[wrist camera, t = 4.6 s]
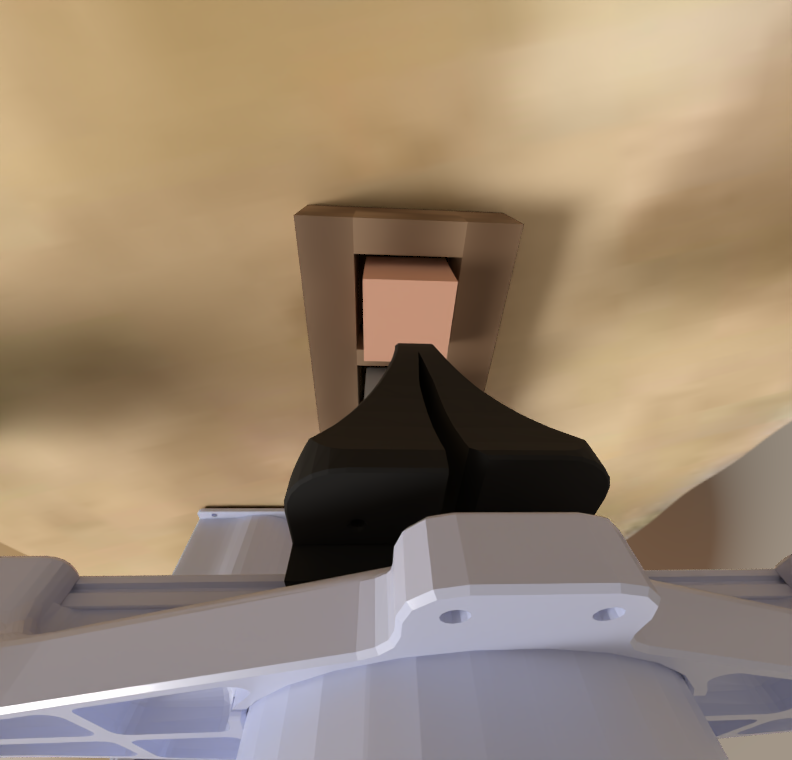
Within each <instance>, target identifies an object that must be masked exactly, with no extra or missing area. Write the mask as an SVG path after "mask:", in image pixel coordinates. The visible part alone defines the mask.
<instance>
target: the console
mask: <svg viewBox="0 0 792 760" xmlns="http://www.w3.org/2000/svg"><path fill="white" fill-rule="evenodd" d="M294 221H295V230H296V238H297V246H298V255H299V263H300V271H301V280H302V288H303V296H304V305H305V313H306V321H307V330H308V338H309V346H310V355H311V363H312V371H313V380H314V388H315V396H316V405H317V413H318V421H319V429H320V433H321V432H323V431H325V430H326V429H328V428H330V427H332V426H333V425H335V424H336V423H338V422H339V421H340V420H342V419H343V418H344V417H346V416H347V415H348V414H349V413H351V412H352V411H353V410H354V409H355V408H356V407H357V406H358V405H359V404H360V403H361V402H362V401H363V400H362V389H361V365H364V366H388V365H389V363H390V362H386V361H364V333H363V324H360V297H359V254H377V255H406V256H434V257H449V262H448V265H449V267H450V268H451V270H452V272H453V274H454V276H455V278H456V279H457V281H458V285H457V291H456V298H455V305H454V312H453V318H452V325H451V332H450V339H449V345H448V352H447V360H448V361H449V362H450V363H451V364H452V365H453V366H454V367H455V368H456V369H457V370H458V371H459V372H460V373H461V374H462V375H463V376H464V377H465V378H467V379H468V380H469V381H470V382H471V383H473V384H474V385H475V386H476V387H478V388H479V389H480V390H482V391H483V392H484V390H485V386H486V382H487V377H488V373H489V369H490V365H491V360H492V356H493V352H494V348H495V344H496V339H497V335H498V331H499V327H500V323H501V318H502V314H503V310H504V306H505V302H506V297H507V293H508V289H509V285H510V281H511V276H512V272H513V268H514V264H515V259H516V255H517V251H518V247H519V243H520V238H521V234H522V230H523V226H524V224H522V223H520V222H519V221H517V220H515V219H513V218H511V217H509V216H507V215H506V214H504V213H493V212H469V211H445V210H421V209H397V208H373V207H349V206H325V205H307V206H305V207H304V208H303V209H301V210H300V211H299V212H297V213H296V214H295V215H294Z"/></svg>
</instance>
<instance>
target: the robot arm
mask: <svg viewBox="0 0 792 760" xmlns="http://www.w3.org/2000/svg"><path fill="white" fill-rule="evenodd" d="M609 488H610V477H609V475H608V473H607V471H606V469H605V468H604V466H603V465H602V463H601V462H600V460H599V459H598V457H597V456H596V454H595V453H594V452H593V450H592V449H591V447H590V446H589V445H588V443H587V442H586V441H585V440H583V439H580V438H577V437H575V436H572V435H569V434H566V433H563V432H561V431H558V430H555V429H552V428H550V427H547V426H545V425H543V424H541V423H538V422H536V421H534V420H532V419H529V418H527V417H525V416H523V415H521V414H519V413H517V412H515V411H514V410H512V409H510V408H508V407H507V406H505V405H503V404H501V403H500V402H498V401H496V400H495V399H493V398H492V397H490V396H489V395H487V394H486V393H485V392H483V391H482V390H480V389H479V388H478V387H476V386H475V385H474V384H473V383H471V382H470V381H469V380H468V379H467V378H465V377H464V376H463V375H462V374H461V373H460V372H459V371H458V370H457V369H456V368H455V367H454V366H453V365H452V364H451V363H450V362H449V361H448V360H447V359H446V358H445V357H444V356H443V355H442V354H441V353H440V352H439V351H438V349H437V348H436V347H435V346H434V345H433V344H417V343H398V344H397V345H395V351H394V354H393V357H392V359H391V362H390V363H389V365H388V367H387V369H386V371H385V373H384V374H383V376H382V377H381V379H380V381H379V382H378V384H377V385H376V386H375V388H374V389H373V390H372V391H371V393H370V394H369V395H368V396H367V397H366V398H365V399H364V400H363V401H362V402H361V403H360V404H359V405H358V406H357V407H356V408H355V409H354V410H353V411H352V412H351V413H349V414H348V415H347V416H346V417H344V418H343V419H342V420H340V421H339V422H338V423H336V424H335V425H333V426H332V427H330V428H328V429H326V430H325V431H323V432H321V433H319V434H318V435H316V436H314V437H312V438H310V439H309V440H308V442H307V444H306V445H305V447H304V449H303V451H302V453H301V455H300V457H299V459H298V461H297V463H296V465H295V468H294V470H293V472H292V475H291V478H290V481H289V485H288V488H287V492H286V496H285V499H284V508H203V509H200V510H199V512H198V516H199V518H200V519H199V521H198V523H197V525H196V527H195V529H194V531H193V533H192V535H191V537H190V539H189V541H188V544H187V546H186V548H185V550H184V552H183V554H182V556H181V558H180V560H179V562H178V564H177V566H176V568H175V570H174V572H173V574H172V575H157V576H79V574H78V572H77V571H76V569H75V568H74V567H73V566H72V565H71V564H70V563H68V562H67V561H65V560H63V559H60V558H57V557H50V556H0V758H1V757H2V758H3V757H81V758H82V757H84V758H86V757H87V758H110V760H729V759H728V757H727V755H726V753H725V752H724V750H723V748H722V746H721V745H720V743H719V741H718V739H719V738H729V737H739V736H750V735H760V734H771V733H782V732H792V554H791V555H789V556H787V557H785V558H784V559H783V560H782V561H780V562H779V563H778V564H777V565H776V567H775V569H723V570H722V569H718V570H717V569H716V570H715V569H711V570H643V568H642V566H641V564H640V563H639V561H638V560H637V558H636V556H635V555H634V553H633V552H632V550H631V548H630V547H629V545H628V544H627V542H626V540H625V539H624V537H623V535H622V534H621V532H620V530H619V529H618V528H617V527H616V526H615V525H614V524H613V523H612V522H611V521H610V520H609V519H608V518H604V517H601V516H596V515H595V513H596V512H597V510H598V508H599V507H600V505H601V504H602V502H603V501H604V499H605V497H606V495H607V492H608V490H609Z"/></svg>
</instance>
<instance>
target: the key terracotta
mask: <svg viewBox="0 0 792 760" xmlns="http://www.w3.org/2000/svg"><path fill="white" fill-rule="evenodd" d="M457 285H458V281H457V279H456V278H455V276H454V274H453V272H452V270H451V268H450V267H449V265H448V263H447V261H446V259H438V258H409V257H381V256H366V262H365V268H364V274H363V333H364V361H386V362H391V359H392V357H393V354H394V351H395V345H397V344H398V343H417V344H433V345H434V346H435V347H436V348H437V349H438V351H439V352H440V353H441V354H442V355H443V356H444V357H445V358H446V359H447V352H448V345H449V339H450V332H451V325H452V318H453V312H454V305H455V298H456V291H457Z"/></svg>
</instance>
